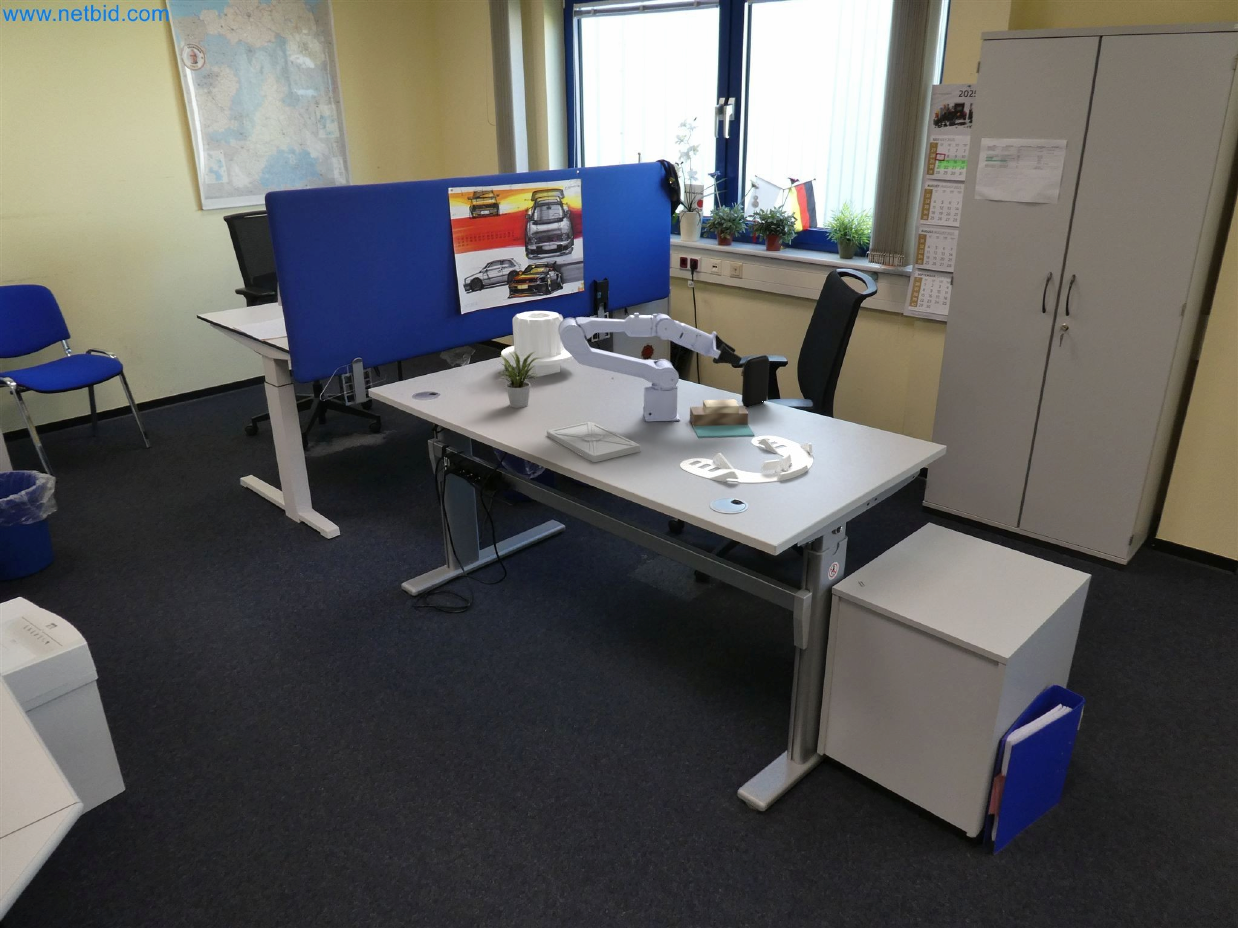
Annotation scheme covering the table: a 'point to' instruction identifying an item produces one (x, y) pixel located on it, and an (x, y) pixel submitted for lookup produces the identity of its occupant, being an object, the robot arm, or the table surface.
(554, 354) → the flanged gear
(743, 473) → the cable organizer
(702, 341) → the robot arm
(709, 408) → the cream rectangular block
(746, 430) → the teal mat
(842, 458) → the table surface
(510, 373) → the house plant
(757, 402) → the carrying case or bag
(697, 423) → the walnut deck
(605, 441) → the envelope
